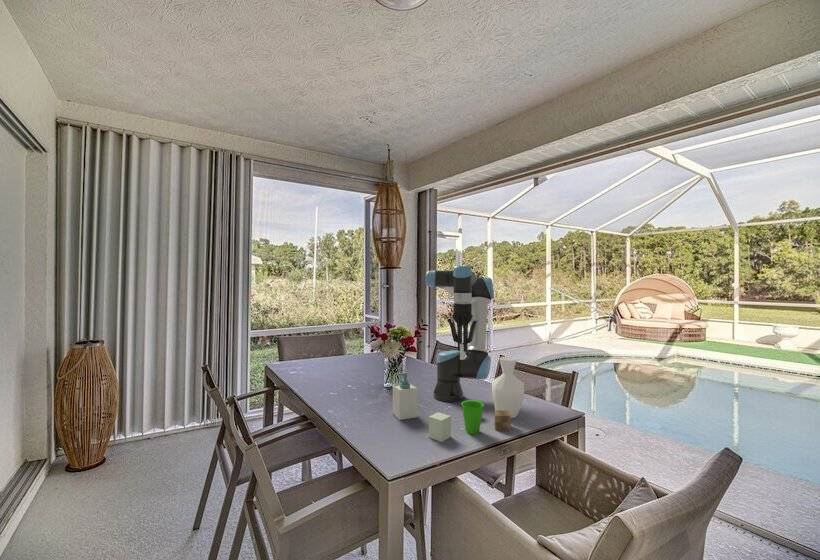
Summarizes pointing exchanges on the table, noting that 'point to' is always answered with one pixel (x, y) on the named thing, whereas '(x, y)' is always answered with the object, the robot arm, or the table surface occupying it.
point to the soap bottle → (405, 399)
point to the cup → (472, 415)
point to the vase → (508, 388)
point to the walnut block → (502, 420)
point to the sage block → (439, 426)
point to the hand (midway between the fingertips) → (462, 358)
